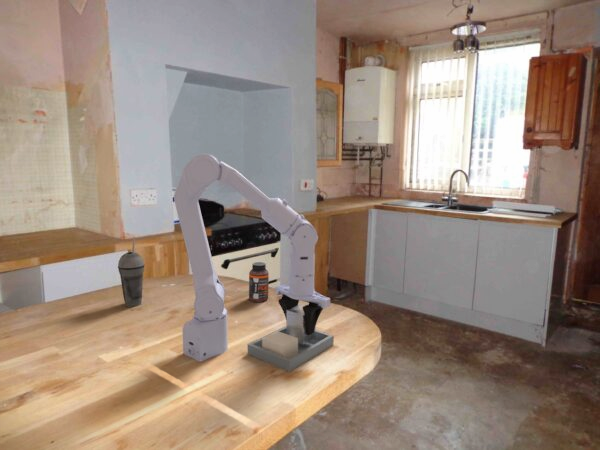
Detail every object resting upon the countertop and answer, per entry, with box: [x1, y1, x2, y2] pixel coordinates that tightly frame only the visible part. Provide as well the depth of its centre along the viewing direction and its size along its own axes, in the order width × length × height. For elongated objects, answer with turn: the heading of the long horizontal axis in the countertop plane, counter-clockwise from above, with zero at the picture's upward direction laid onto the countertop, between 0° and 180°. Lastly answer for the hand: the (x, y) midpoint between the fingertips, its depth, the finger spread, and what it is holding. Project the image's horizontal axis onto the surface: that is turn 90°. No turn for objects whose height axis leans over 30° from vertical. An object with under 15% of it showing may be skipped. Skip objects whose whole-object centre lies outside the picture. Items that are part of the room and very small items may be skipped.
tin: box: [285, 303, 317, 345], centre depth 98 cm, size 5×5×7 cm
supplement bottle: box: [248, 261, 270, 303], centre depth 129 cm, size 6×6×11 cm
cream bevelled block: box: [261, 330, 298, 359], centre depth 93 cm, size 5×6×4 cm
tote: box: [247, 325, 335, 373], centre depth 96 cm, size 16×12×3 cm
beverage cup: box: [117, 236, 146, 308], centre depth 123 cm, size 7×7×20 cm
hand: (300, 330), depth 98 cm, fingers closed on tin, 5 cm apart
